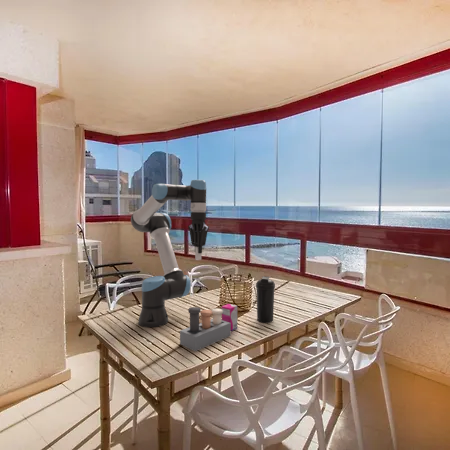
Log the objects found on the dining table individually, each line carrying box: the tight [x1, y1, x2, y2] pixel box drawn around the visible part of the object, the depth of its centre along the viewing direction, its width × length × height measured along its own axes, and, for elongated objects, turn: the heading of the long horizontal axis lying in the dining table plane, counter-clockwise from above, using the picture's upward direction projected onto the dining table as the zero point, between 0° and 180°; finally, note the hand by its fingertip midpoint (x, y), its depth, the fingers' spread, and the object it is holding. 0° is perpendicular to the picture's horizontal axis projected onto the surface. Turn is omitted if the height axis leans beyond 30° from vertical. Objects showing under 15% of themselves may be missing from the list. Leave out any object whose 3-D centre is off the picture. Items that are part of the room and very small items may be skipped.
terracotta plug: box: [199, 309, 213, 330], centre depth 132 cm, size 5×5×9 cm
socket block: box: [179, 318, 232, 352], centre depth 133 cm, size 10×22×6 cm, turn 137°
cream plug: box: [211, 307, 223, 325], centre depth 138 cm, size 5×5×9 cm
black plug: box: [187, 306, 202, 332], centre depth 127 cm, size 5×5×9 cm
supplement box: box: [221, 303, 238, 332], centre depth 146 cm, size 6×6×12 cm
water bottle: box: [255, 275, 276, 324], centre depth 158 cm, size 10×10×23 cm
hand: (198, 259), depth 144 cm, fingers closed
